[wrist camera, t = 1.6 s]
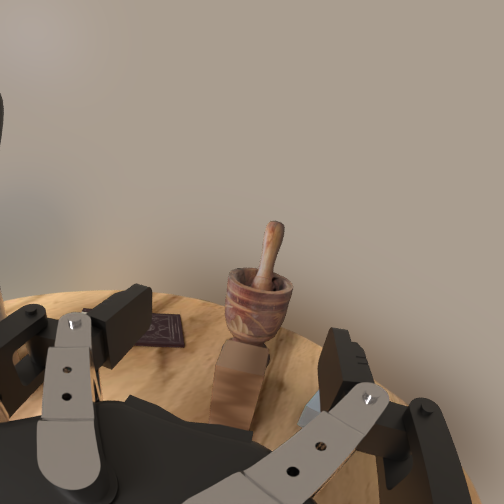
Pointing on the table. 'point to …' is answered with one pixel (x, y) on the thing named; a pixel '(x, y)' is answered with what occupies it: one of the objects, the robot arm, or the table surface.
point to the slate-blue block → (310, 410)
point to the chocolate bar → (161, 331)
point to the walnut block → (237, 384)
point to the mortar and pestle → (258, 295)
